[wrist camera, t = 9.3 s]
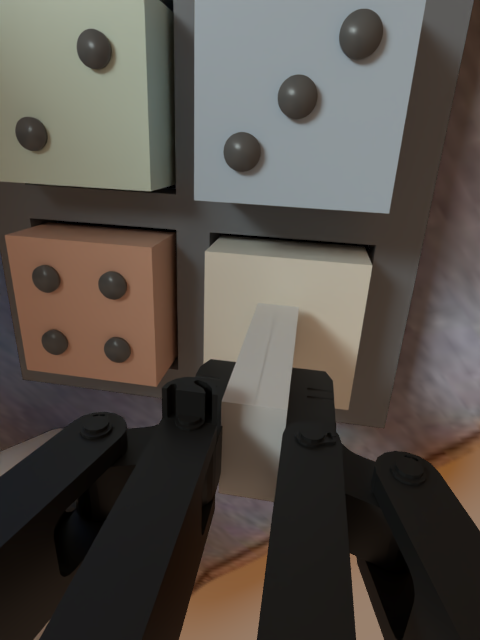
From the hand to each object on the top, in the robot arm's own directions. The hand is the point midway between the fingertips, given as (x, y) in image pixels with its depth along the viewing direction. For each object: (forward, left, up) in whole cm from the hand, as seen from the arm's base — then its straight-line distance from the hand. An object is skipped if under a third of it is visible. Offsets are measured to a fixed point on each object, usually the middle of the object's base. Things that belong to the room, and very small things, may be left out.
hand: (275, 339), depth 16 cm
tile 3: (0, +8, -2) cm, 8 cm away
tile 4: (-8, 0, -4) cm, 9 cm away
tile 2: (-8, +8, -4) cm, 12 cm away
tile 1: (0, 0, -4) cm, 4 cm away
